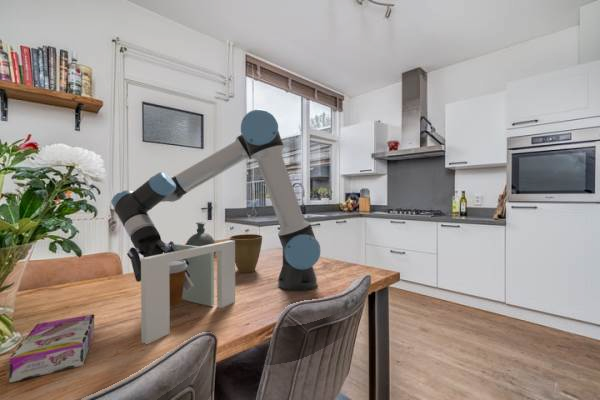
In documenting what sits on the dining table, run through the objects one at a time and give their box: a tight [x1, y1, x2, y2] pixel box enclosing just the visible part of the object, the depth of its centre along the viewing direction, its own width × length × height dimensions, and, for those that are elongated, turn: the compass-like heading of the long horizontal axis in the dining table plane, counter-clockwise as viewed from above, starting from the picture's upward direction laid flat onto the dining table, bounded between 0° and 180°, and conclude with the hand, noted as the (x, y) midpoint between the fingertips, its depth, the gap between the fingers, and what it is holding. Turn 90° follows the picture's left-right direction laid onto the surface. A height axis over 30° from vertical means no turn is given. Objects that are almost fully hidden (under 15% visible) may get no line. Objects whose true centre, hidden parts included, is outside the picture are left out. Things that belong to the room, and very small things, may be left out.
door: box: [174, 243, 215, 307], centre depth 90 cm, size 17×3×18 cm, turn 63°
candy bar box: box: [8, 313, 95, 383], centre depth 61 cm, size 11×5×16 cm
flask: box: [185, 221, 217, 258], centre depth 133 cm, size 12×17×22 cm
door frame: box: [140, 239, 236, 345], centre depth 78 cm, size 30×2×20 cm, turn 151°
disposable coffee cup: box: [169, 260, 187, 309], centre depth 80 cm, size 10×10×12 cm
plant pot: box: [229, 233, 263, 274], centre depth 128 cm, size 15×15×16 cm
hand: (177, 293), depth 79 cm, fingers closed on disposable coffee cup, 8 cm apart
